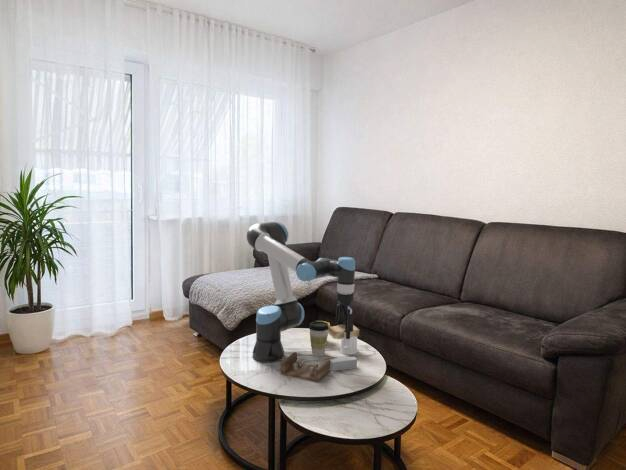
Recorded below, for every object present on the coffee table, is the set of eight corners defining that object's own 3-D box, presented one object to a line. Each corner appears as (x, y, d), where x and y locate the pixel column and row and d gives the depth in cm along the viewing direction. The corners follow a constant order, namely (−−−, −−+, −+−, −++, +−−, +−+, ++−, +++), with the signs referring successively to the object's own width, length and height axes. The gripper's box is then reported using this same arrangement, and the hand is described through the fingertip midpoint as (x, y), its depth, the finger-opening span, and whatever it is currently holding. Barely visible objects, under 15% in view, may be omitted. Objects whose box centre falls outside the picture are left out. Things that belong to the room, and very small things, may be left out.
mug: (349, 358, 202) (349, 334, 201) (333, 354, 207) (334, 330, 206) (360, 350, 212) (360, 327, 211) (345, 346, 217) (345, 324, 216)
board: (334, 338, 185) (334, 332, 184) (328, 333, 191) (328, 326, 191) (359, 336, 189) (359, 329, 188) (352, 330, 195) (352, 324, 195)
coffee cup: (314, 358, 201) (314, 328, 199) (304, 351, 210) (305, 322, 208) (332, 355, 206) (332, 325, 204) (322, 348, 214) (322, 319, 212)
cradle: (281, 373, 185) (281, 361, 184) (294, 363, 195) (294, 352, 195) (318, 382, 177) (319, 369, 176) (330, 371, 188) (330, 359, 187)
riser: (332, 371, 188) (332, 362, 188) (329, 368, 191) (329, 359, 190) (356, 367, 192) (357, 359, 192) (353, 365, 195) (354, 356, 194)
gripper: (363, 297, 179) (360, 349, 182) (344, 286, 198) (341, 333, 201) (346, 298, 177) (344, 351, 180) (329, 287, 195) (327, 334, 198)
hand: (343, 341), depth 190 cm, fingers closed on board, 7 cm apart
